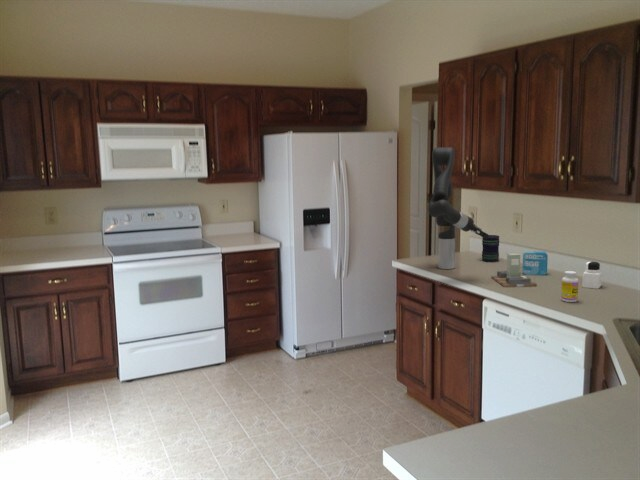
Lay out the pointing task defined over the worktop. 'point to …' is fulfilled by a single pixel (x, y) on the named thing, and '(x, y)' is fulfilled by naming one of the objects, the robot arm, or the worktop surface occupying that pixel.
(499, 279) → the rail board
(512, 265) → the block
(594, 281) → the medicine bottle
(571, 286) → the supplement bottle
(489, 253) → the storage jar
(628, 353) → the worktop surface
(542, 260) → the blue product box
